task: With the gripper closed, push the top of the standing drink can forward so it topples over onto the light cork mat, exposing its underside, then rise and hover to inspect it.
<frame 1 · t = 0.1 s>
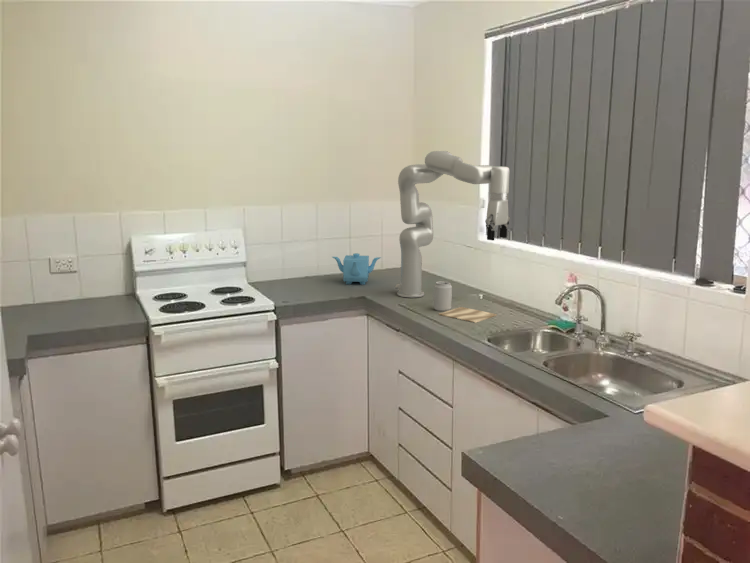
hand: (497, 238, 277), 31 cm above the countertop, fingers open, 9 cm apart
mat: (467, 315, 278), on the countertop
teakettle: (356, 283, 338), on the countertop
can: (442, 310, 287), on the countertop
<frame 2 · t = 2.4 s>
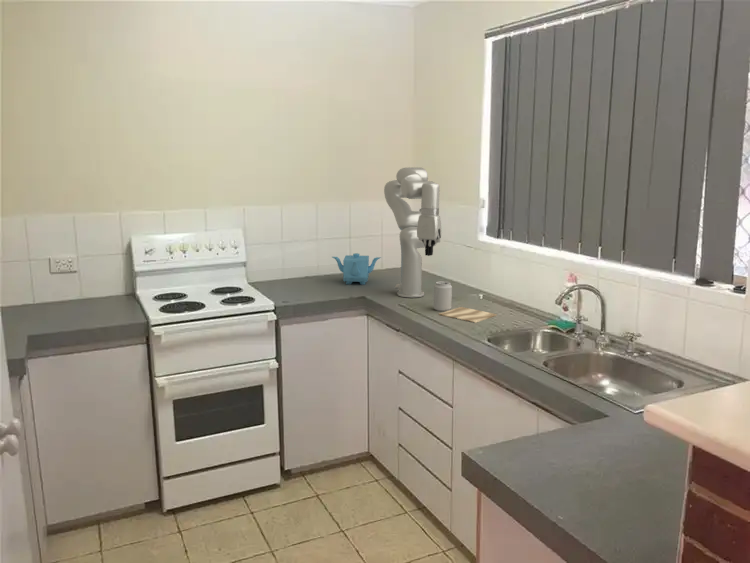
hand: (428, 255, 287), 23 cm above the countertop, fingers closed
nothing on the countertop moved.
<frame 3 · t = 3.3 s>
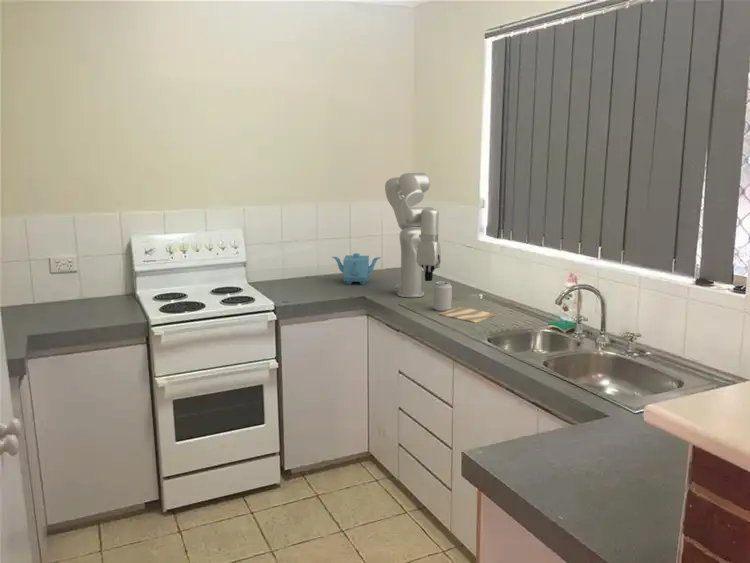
hand: (428, 280, 289), 12 cm above the countertop, fingers closed
nothing on the countertop moved.
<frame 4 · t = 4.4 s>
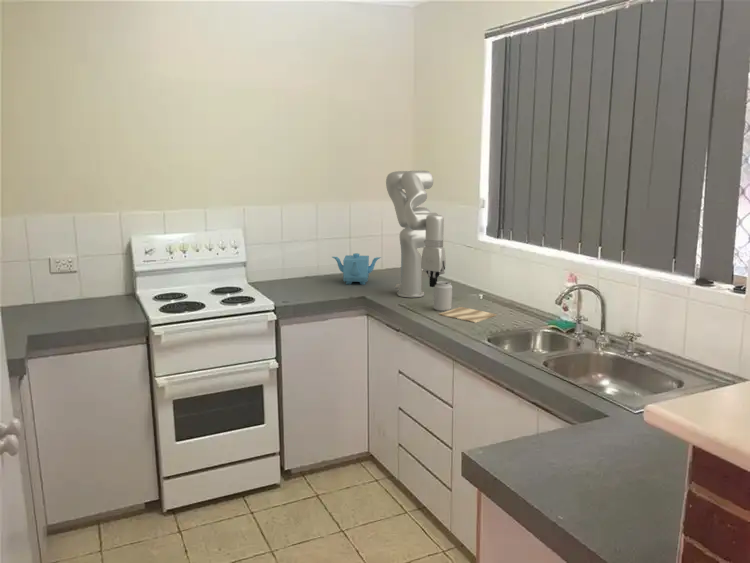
hand: (433, 286, 288), 9 cm above the countertop, fingers closed
can: (442, 310, 287), on the countertop, touching gripper
everything else where it was.
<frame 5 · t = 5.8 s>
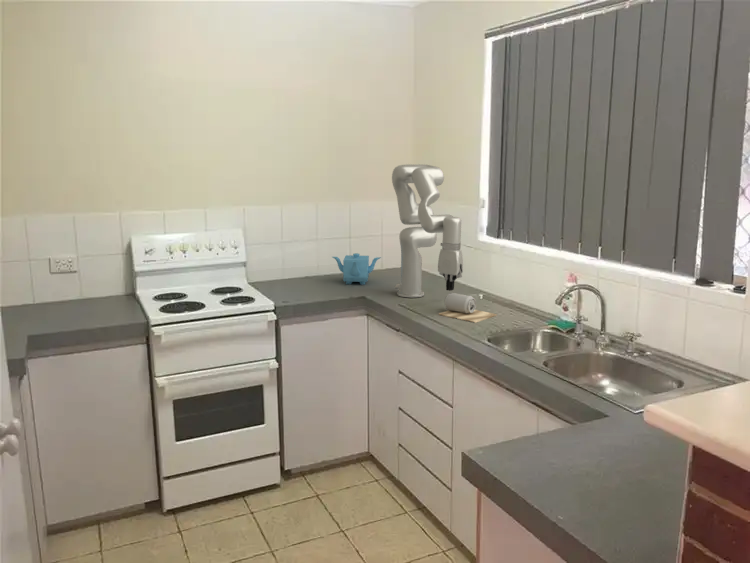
hand: (450, 289, 282), 9 cm above the countertop, fingers closed
can: (447, 301, 284), point 4 cm above the countertop, touching mat
everything else where it was.
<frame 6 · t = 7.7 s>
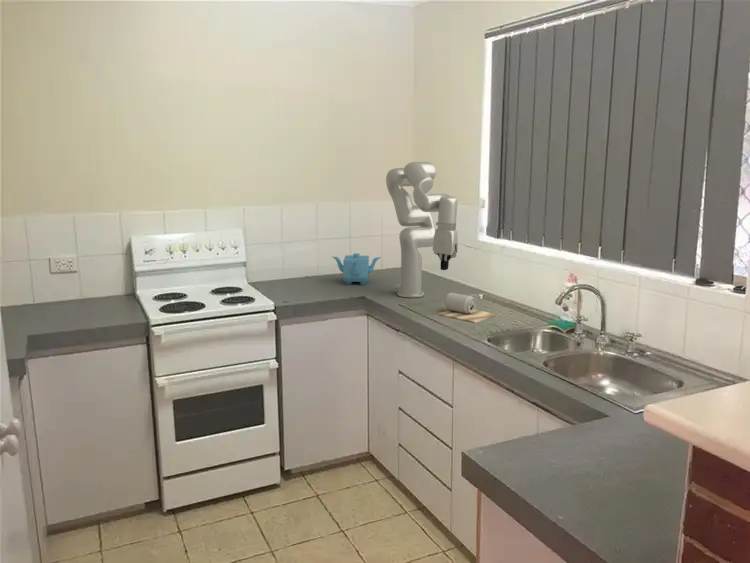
hand: (444, 269, 283), 17 cm above the countertop, fingers closed
nothing on the countertop moved.
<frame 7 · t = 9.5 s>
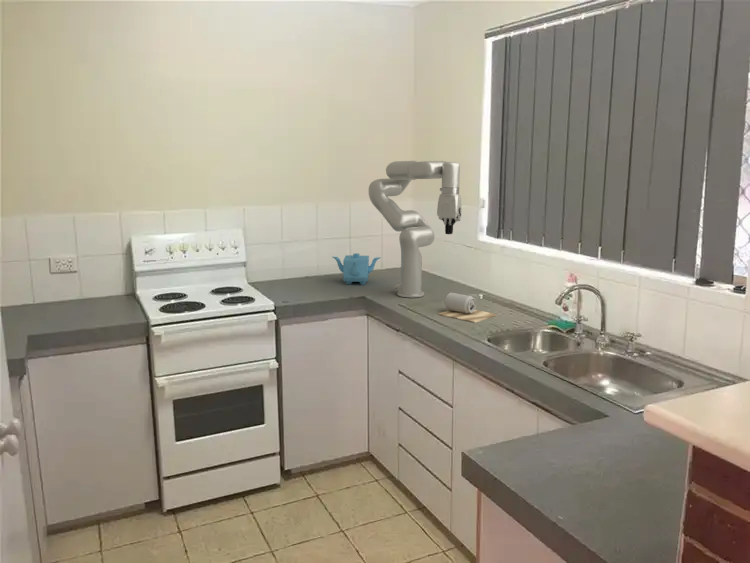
hand: (448, 233, 291), 31 cm above the countertop, fingers closed
nothing on the countertop moved.
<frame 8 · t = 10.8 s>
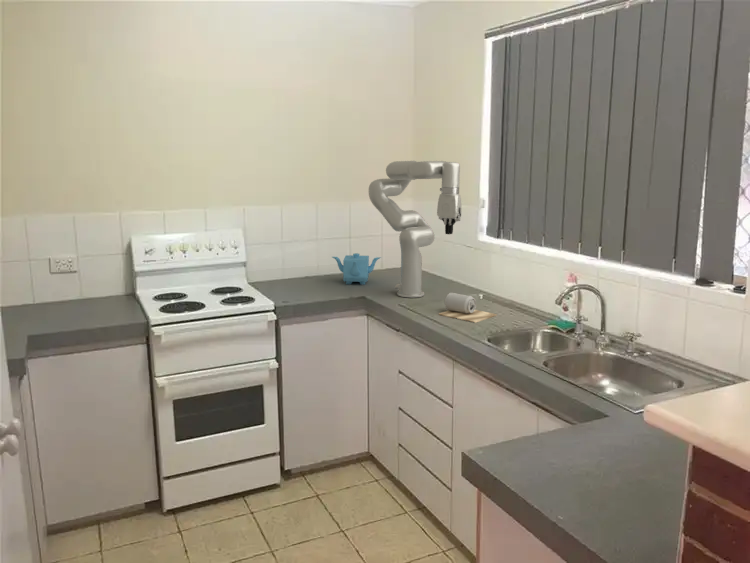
hand: (448, 233, 291), 31 cm above the countertop, fingers closed
nothing on the countertop moved.
at the end: can tilted 90°; can inside the target area on the mat (10.4 cm from its centre), point 4.2 cm above the mat's base; can moved 4.9 cm from its start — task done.
